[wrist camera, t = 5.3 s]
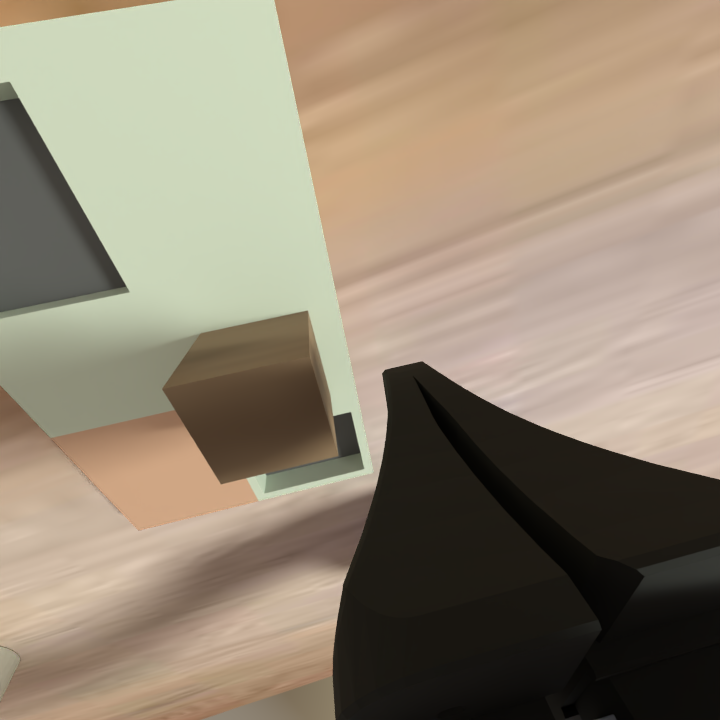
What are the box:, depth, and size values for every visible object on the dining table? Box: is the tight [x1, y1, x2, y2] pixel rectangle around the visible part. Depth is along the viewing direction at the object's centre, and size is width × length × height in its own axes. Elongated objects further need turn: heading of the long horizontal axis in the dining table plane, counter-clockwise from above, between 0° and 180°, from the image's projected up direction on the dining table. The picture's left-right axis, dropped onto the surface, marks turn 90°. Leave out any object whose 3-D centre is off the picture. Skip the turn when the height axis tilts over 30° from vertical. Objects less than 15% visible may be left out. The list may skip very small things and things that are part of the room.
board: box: [0, 0, 374, 531], centre depth 14 cm, size 20×14×2 cm
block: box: [162, 311, 338, 484], centre depth 12 cm, size 4×4×4 cm
